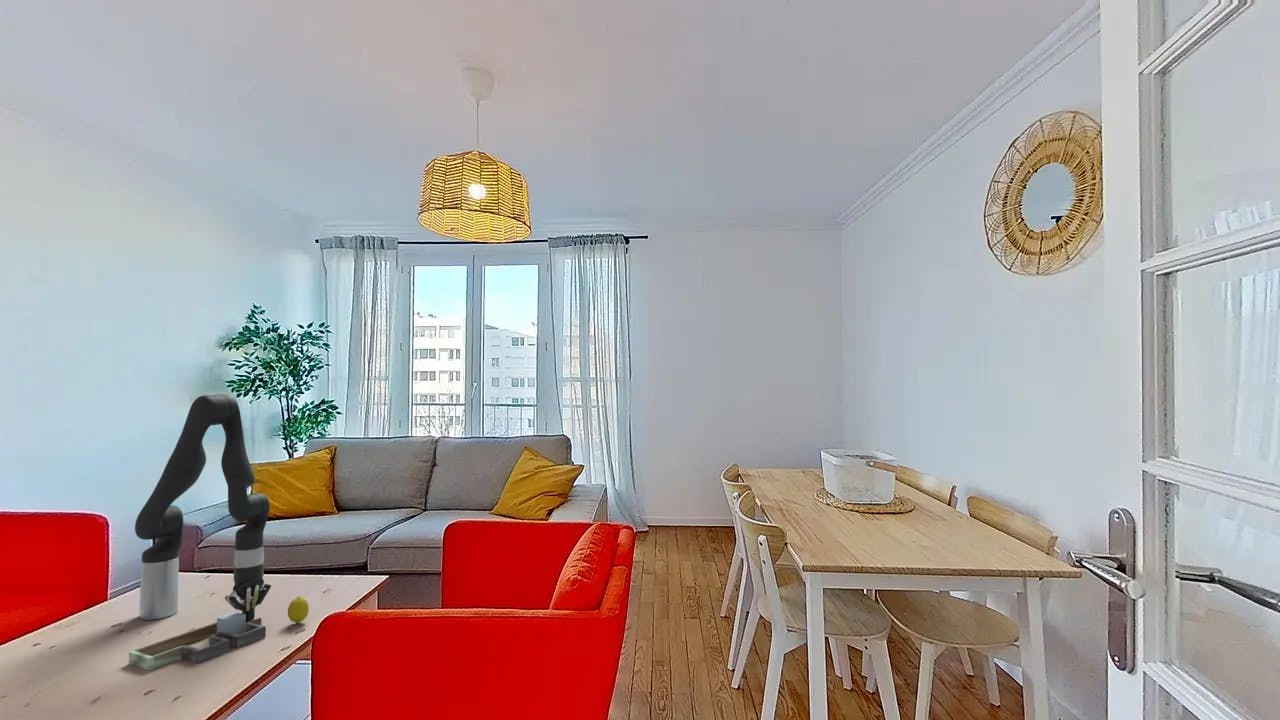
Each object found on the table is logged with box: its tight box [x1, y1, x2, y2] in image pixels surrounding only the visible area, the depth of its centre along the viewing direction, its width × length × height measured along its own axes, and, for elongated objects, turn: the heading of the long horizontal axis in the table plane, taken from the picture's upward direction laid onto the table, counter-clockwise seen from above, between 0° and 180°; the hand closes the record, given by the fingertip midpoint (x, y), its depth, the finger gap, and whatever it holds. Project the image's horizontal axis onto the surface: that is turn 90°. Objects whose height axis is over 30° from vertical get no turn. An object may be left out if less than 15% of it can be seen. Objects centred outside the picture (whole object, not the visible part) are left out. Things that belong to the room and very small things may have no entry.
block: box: [216, 611, 246, 635], centre depth 178 cm, size 5×5×5 cm
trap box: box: [128, 617, 267, 671], centre depth 169 cm, size 16×29×3 cm, turn 156°
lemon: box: [287, 596, 310, 625], centre depth 186 cm, size 6×6×8 cm
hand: (248, 622), depth 183 cm, fingers closed
